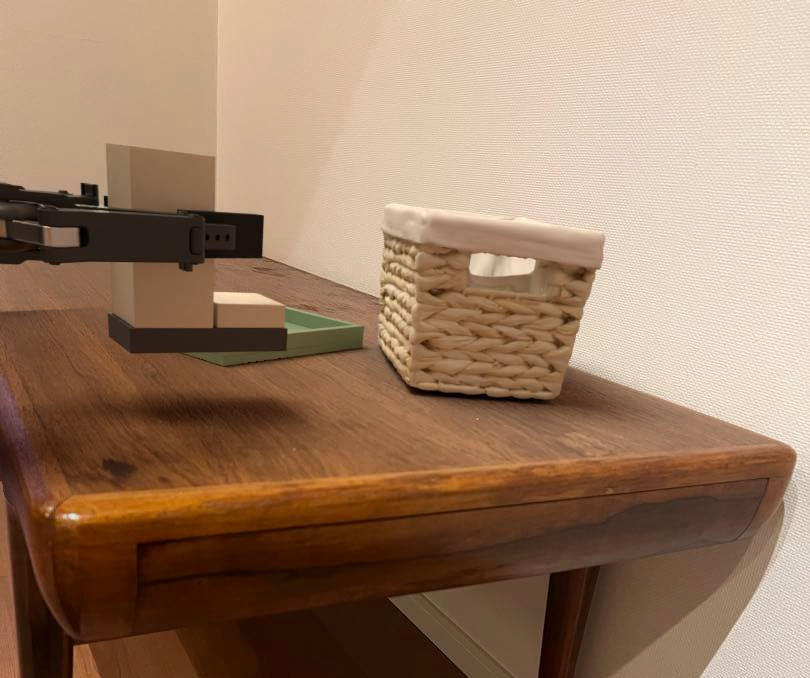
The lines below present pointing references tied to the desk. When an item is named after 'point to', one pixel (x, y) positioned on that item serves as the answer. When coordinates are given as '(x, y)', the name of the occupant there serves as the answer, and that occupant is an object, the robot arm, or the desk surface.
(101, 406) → the desk surface
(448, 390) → the basket
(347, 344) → the tray
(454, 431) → the desk surface
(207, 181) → the boot
